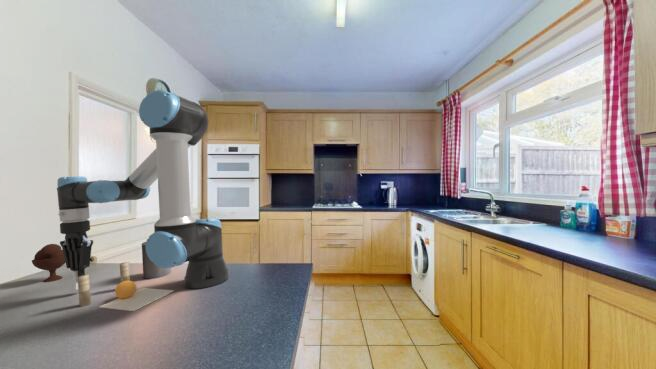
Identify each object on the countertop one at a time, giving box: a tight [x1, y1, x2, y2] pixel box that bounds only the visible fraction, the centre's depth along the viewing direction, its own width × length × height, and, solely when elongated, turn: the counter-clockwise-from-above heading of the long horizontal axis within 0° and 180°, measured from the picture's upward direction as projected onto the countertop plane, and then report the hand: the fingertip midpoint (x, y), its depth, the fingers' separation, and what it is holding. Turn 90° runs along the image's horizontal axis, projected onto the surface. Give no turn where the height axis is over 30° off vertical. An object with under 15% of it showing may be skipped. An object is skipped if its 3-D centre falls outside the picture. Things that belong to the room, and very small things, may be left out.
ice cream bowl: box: [31, 243, 66, 283], centre depth 109 cm, size 11×11×15 cm
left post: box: [77, 274, 92, 308], centre depth 82 cm, size 3×3×9 cm
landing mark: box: [98, 287, 175, 312], centre depth 84 cm, size 14×14×1 cm
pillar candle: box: [141, 241, 172, 280], centre depth 108 cm, size 10×10×15 cm
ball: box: [114, 280, 137, 299], centre depth 86 cm, size 6×6×6 cm
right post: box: [119, 261, 131, 283], centre depth 94 cm, size 3×3×9 cm
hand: (79, 288), depth 92 cm, fingers closed
